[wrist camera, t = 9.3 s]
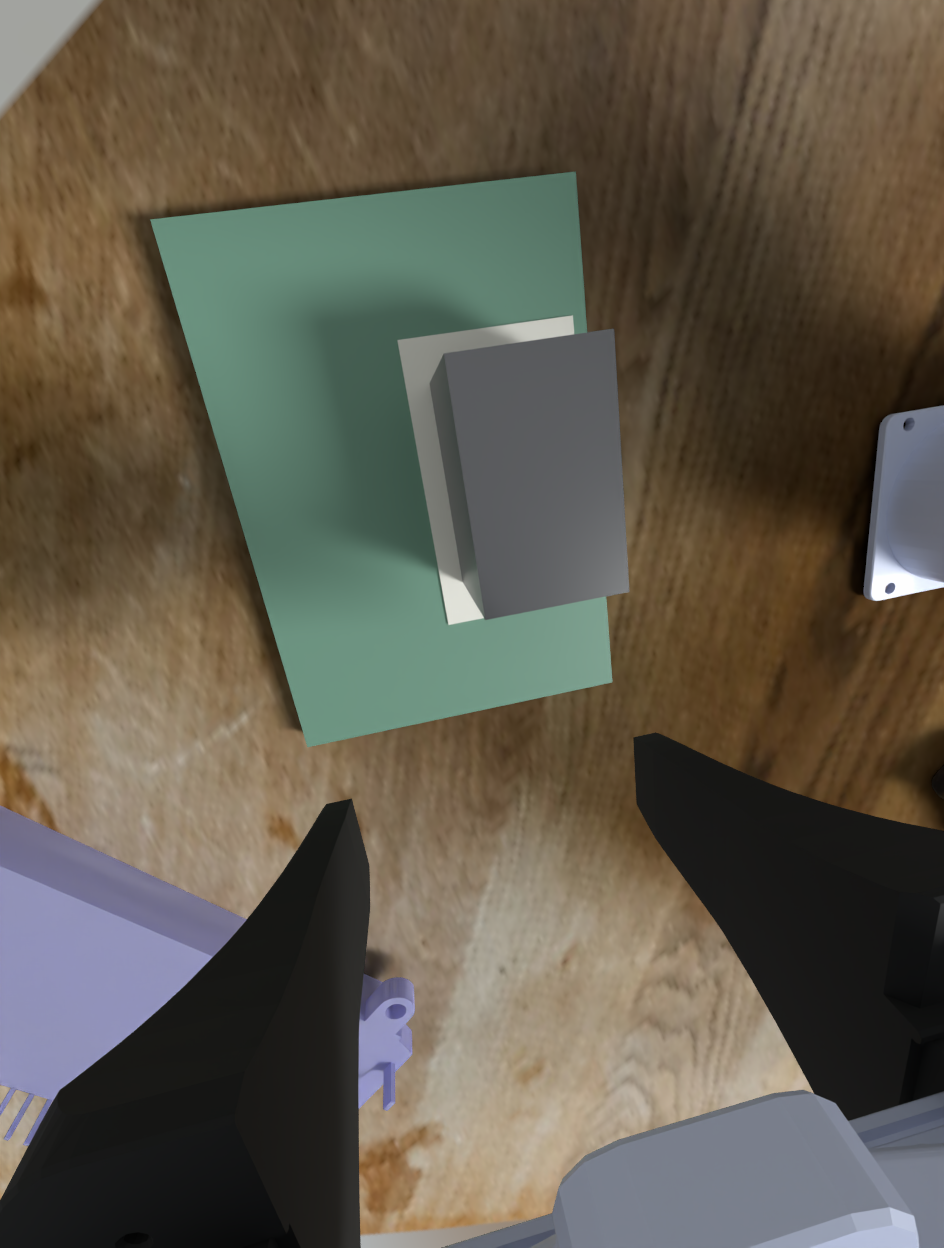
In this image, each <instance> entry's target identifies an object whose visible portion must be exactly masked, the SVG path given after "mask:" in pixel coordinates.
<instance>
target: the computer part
mask: <svg viewBox="0 0 944 1248" xmlns="http://www.w3.org/2000/svg"><path fill="white" fill-rule="evenodd" d="M246 920H247V919H245V918H242V917H240V916H238V915H236V914H234V913H232V912H230V911H227V910H225V909H223V908H221V907H219V906H217V905H214V904H212V903H210V902H208V901H206V900H204V899H201V898H199V897H197V896H195V895H193V894H191V893H188V892H186V891H184V890H182V889H180V888H178V887H175V886H173V885H171V884H169V883H167V882H165V881H162V880H160V879H158V878H156V877H154V876H152V875H149V874H147V873H145V872H143V871H141V870H139V869H136V868H134V867H132V866H130V865H128V864H126V863H123V862H121V861H119V860H117V859H115V858H113V857H110V856H108V855H106V854H104V853H102V852H100V851H97V850H95V849H93V848H91V847H89V846H87V845H84V844H82V843H80V842H78V841H76V840H74V839H71V838H69V837H67V836H65V835H63V834H61V833H58V832H56V831H54V830H52V829H50V828H48V827H45V826H43V825H41V824H39V823H37V822H35V821H32V820H30V819H28V818H26V817H24V816H22V815H19V814H17V813H15V812H13V811H11V810H9V809H6V808H4V807H2V806H0V1085H3V1086H6V1087H10V1088H11V1089H10V1090H9V1092H8V1094H7V1095H6V1097H5V1099H4V1100H3V1102H2V1104H1V1105H0V1115H1V1114H2V1112H3V1110H4V1109H5V1107H6V1105H7V1104H8V1102H9V1100H10V1099H11V1097H12V1095H13V1094H14V1092H15V1090H20V1091H23V1092H26V1093H30V1094H29V1095H28V1097H27V1099H26V1101H25V1102H24V1104H23V1106H22V1108H21V1109H20V1111H19V1113H18V1115H17V1116H16V1118H15V1120H14V1122H13V1123H12V1125H11V1127H10V1129H9V1130H8V1132H7V1134H6V1136H5V1137H4V1140H9V1139H10V1138H11V1136H12V1134H13V1132H14V1131H15V1129H16V1127H17V1125H18V1123H19V1122H20V1120H21V1118H22V1116H23V1115H24V1113H25V1111H26V1109H27V1107H28V1106H29V1104H30V1102H31V1100H32V1099H33V1097H34V1095H36V1096H40V1097H43V1098H46V1099H47V1101H46V1103H45V1105H44V1107H43V1109H42V1111H41V1112H40V1114H39V1116H38V1118H37V1120H36V1122H35V1124H34V1125H33V1127H32V1129H31V1131H30V1133H29V1135H28V1137H27V1138H26V1140H25V1142H24V1144H23V1145H26V1146H28V1145H29V1144H30V1142H31V1140H32V1138H33V1137H34V1135H35V1133H36V1131H37V1129H38V1127H39V1125H40V1123H41V1121H42V1120H43V1118H44V1116H45V1114H46V1112H47V1110H48V1108H49V1106H50V1105H51V1103H52V1101H53V1100H54V1099H55V1097H56V1095H57V1093H58V1092H59V1090H60V1089H62V1088H63V1087H64V1086H66V1085H67V1084H68V1083H70V1082H71V1081H72V1080H74V1079H75V1078H76V1077H77V1076H79V1075H80V1074H81V1073H82V1072H84V1071H85V1070H86V1069H87V1068H89V1067H90V1066H91V1065H93V1064H94V1063H95V1062H96V1061H98V1060H99V1059H100V1058H101V1057H103V1056H104V1055H105V1054H106V1053H108V1052H109V1051H110V1050H112V1049H113V1048H114V1047H115V1046H117V1045H118V1044H119V1043H120V1042H122V1041H123V1040H124V1039H125V1038H126V1037H128V1036H129V1035H130V1034H131V1033H132V1032H134V1031H135V1030H136V1029H137V1028H138V1027H139V1026H141V1025H142V1024H143V1023H144V1022H145V1021H146V1020H147V1019H149V1018H150V1017H151V1016H152V1015H153V1014H154V1013H155V1012H157V1011H158V1010H159V1009H160V1008H161V1007H162V1006H163V1005H164V1004H165V1003H166V1002H168V1001H169V1000H170V999H171V998H172V997H173V996H174V995H175V994H176V993H177V992H178V991H180V990H181V989H182V988H183V987H184V986H185V985H186V984H187V983H188V982H189V981H190V980H191V979H192V978H193V977H194V976H195V975H196V974H197V973H198V972H199V971H200V970H201V969H202V968H203V967H204V966H205V965H206V964H207V963H208V961H209V960H210V959H211V958H212V957H213V956H214V955H215V954H216V953H217V952H218V951H219V950H220V949H221V948H222V947H223V946H224V945H225V944H226V943H227V942H228V941H229V940H230V938H231V937H232V936H233V935H234V934H235V933H236V932H237V930H238V929H239V928H240V927H241V926H242V925H243V923H244V922H245V921H246ZM414 1012H415V1003H414V986H413V984H412V983H411V982H410V981H409V980H408V979H405V978H401V977H396V978H391V979H388V980H386V981H384V982H381V981H379V980H377V979H375V978H372V977H370V976H368V975H366V974H364V976H363V986H362V996H361V1006H360V1022H359V1079H358V1103H359V1108H360V1107H361V1106H362V1105H363V1104H364V1103H365V1102H366V1101H367V1100H368V1099H369V1098H370V1097H371V1096H372V1095H373V1094H374V1093H375V1092H376V1091H377V1090H378V1089H379V1088H380V1087H381V1086H382V1085H383V1084H384V1091H383V1109H384V1110H386V1111H388V1110H389V1109H390V1108H391V1107H392V1106H393V1105H394V1104H395V1072H396V1071H397V1070H398V1069H399V1068H400V1066H401V1065H402V1064H403V1063H404V1062H405V1061H406V1060H407V1059H408V1058H409V1057H410V1056H411V1055H412V1030H411V1029H410V1028H409V1027H408V1026H407V1025H406V1023H407V1022H408V1021H409V1020H410V1019H411V1017H412V1016H413V1014H414Z"/></svg>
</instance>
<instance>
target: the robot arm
mask: <svg viewBox="0 0 944 1248" xmlns="http://www.w3.org/2000/svg"><path fill="white" fill-rule="evenodd" d="M904 422H906V425H905V428H903V425H904ZM886 586H887V588H886ZM942 587H944V405H942V406H936V407H930V408H924V409H919V410H913V411H907V412H901V413H895V414H890V415H888V416H886V417H885V418H884V419H883V421H882V422H881V424H880V428H879V437H878V447H877V457H876V468H875V478H874V488H873V498H872V509H871V519H870V529H869V539H868V550H867V560H866V570H865V580H864V596H865V597H866V598H867V599H870V600H874V601H879V600H884V599H889V598H894V597H899V596H904V595H908V594H913V593H918V592H923V591H928V590H932V589H937V588H942ZM885 588H886V589H885ZM633 738H634V758H635V779H636V800H637V805H638V807H639V809H640V811H641V813H642V815H643V817H644V818H645V820H646V822H647V824H648V826H649V828H650V829H651V831H652V833H653V835H654V836H655V838H656V840H657V841H658V842H659V844H660V845H661V847H662V848H663V850H664V851H665V852H666V854H667V855H668V856H669V858H670V859H671V861H672V862H673V863H674V865H675V866H676V868H677V869H678V870H679V872H680V873H681V874H682V876H683V877H684V878H685V880H686V881H687V882H688V884H689V885H690V887H691V888H692V889H693V891H694V892H695V893H696V895H697V896H698V897H699V899H700V900H701V902H702V903H703V904H704V906H705V907H706V908H707V910H708V911H709V912H710V914H711V915H712V917H713V918H714V920H715V921H716V922H717V924H718V925H719V927H720V928H721V930H722V931H723V933H724V934H725V936H726V938H727V939H728V941H729V943H730V944H731V946H732V948H733V949H734V951H735V953H736V954H737V956H738V958H739V959H740V961H741V963H742V964H743V966H744V968H745V969H746V971H747V973H748V974H749V976H750V978H751V979H752V981H753V983H754V985H755V986H756V988H757V990H758V992H759V993H760V995H761V997H762V999H763V1000H764V1002H765V1004H766V1006H767V1007H768V1009H769V1011H770V1013H771V1014H772V1016H773V1018H774V1020H775V1021H776V1023H777V1025H778V1027H779V1029H780V1031H781V1032H782V1034H783V1036H784V1038H785V1040H786V1042H787V1044H788V1045H789V1047H790V1049H791V1051H792V1053H793V1055H794V1056H795V1058H796V1060H797V1062H798V1064H799V1066H800V1067H801V1069H802V1071H803V1073H804V1075H805V1077H806V1079H807V1080H808V1082H809V1084H810V1086H811V1088H812V1090H813V1092H814V1094H813V1093H811V1092H808V1091H805V1090H798V1091H789V1092H781V1093H773V1094H769V1095H766V1096H763V1097H759V1098H756V1099H753V1100H749V1101H746V1102H743V1103H739V1104H736V1105H733V1106H729V1107H726V1108H723V1109H719V1110H716V1111H713V1112H709V1113H706V1114H703V1115H699V1116H696V1117H693V1118H689V1119H686V1120H683V1121H679V1122H676V1123H673V1124H669V1125H666V1126H663V1127H659V1128H656V1129H653V1130H649V1131H646V1132H643V1133H639V1134H636V1135H633V1136H629V1137H626V1138H623V1139H619V1140H617V1141H615V1142H613V1143H611V1144H608V1145H606V1146H604V1147H602V1148H600V1149H598V1150H596V1151H594V1152H592V1153H590V1154H588V1155H586V1156H584V1157H583V1158H582V1159H581V1160H580V1161H579V1162H578V1163H577V1164H576V1165H575V1166H574V1167H573V1169H572V1170H571V1171H570V1172H569V1173H568V1174H567V1175H566V1176H565V1177H564V1178H563V1179H562V1181H561V1184H560V1186H559V1189H558V1193H557V1196H556V1200H555V1204H554V1208H553V1212H552V1213H551V1214H548V1215H545V1216H542V1217H539V1218H535V1219H532V1220H529V1221H526V1222H523V1223H519V1224H516V1225H513V1226H510V1227H506V1228H504V1229H500V1230H497V1231H494V1232H490V1233H487V1234H484V1235H481V1236H478V1237H474V1238H471V1239H468V1240H465V1241H461V1242H458V1243H455V1244H452V1245H449V1246H445V1247H442V1248H944V831H942V830H937V829H931V828H926V827H921V826H916V825H911V824H906V823H901V822H897V821H892V820H888V819H883V818H879V817H875V816H871V815H867V814H863V813H860V812H856V811H852V810H848V809H844V808H841V807H837V806H834V805H830V804H827V803H824V802H821V801H818V800H815V799H812V798H809V797H806V796H802V795H799V794H796V793H793V792H791V791H788V790H785V789H782V788H780V787H777V786H774V785H772V784H769V783H767V782H764V781H762V780H760V779H757V778H755V777H752V776H750V775H747V774H745V773H743V772H740V771H738V770H736V769H734V768H731V767H729V766H727V765H725V764H723V763H720V762H718V761H716V760H714V759H712V758H710V757H708V756H705V755H703V754H701V753H699V752H697V751H695V750H693V749H691V748H689V747H687V746H685V745H683V744H680V743H678V742H676V741H674V740H672V739H670V738H668V737H665V736H663V735H661V734H658V733H652V734H647V735H643V736H638V737H633ZM369 914H370V874H369V863H368V859H367V855H366V851H365V847H364V844H363V840H362V836H361V832H360V828H359V825H358V821H357V817H356V813H355V809H354V806H353V802H352V799H348V800H343V801H339V802H334V803H329V804H326V805H325V807H324V808H323V810H322V811H321V813H320V814H319V816H318V818H317V819H316V821H315V823H314V824H313V826H312V827H311V829H310V831H309V832H308V834H307V836H306V837H305V839H304V840H303V842H302V844H301V845H300V847H299V848H298V850H297V851H296V853H295V854H294V856H293V857H292V859H291V860H290V862H289V863H288V865H287V866H286V868H285V869H284V871H283V872H282V874H281V875H280V877H279V878H278V879H277V881H276V882H275V883H274V885H273V886H272V887H271V889H270V890H269V892H268V893H267V894H266V896H265V897H264V898H263V900H262V901H261V902H260V904H259V905H258V906H257V908H256V909H255V910H254V911H253V913H252V914H251V915H250V916H249V918H248V919H247V920H246V921H245V922H244V923H243V925H242V926H241V927H240V928H239V929H238V930H237V932H236V933H235V934H234V935H233V936H232V937H231V938H230V940H229V941H228V942H227V943H226V944H225V945H224V946H223V947H222V948H221V949H220V950H219V951H218V952H217V953H216V954H215V955H214V956H213V957H212V958H211V959H210V960H209V961H208V963H207V964H206V965H205V966H204V967H203V968H202V969H201V970H200V971H199V972H198V973H197V974H196V975H195V976H194V977H193V978H192V979H191V980H190V981H189V982H188V983H187V984H186V985H185V986H184V987H183V988H182V989H181V990H180V991H178V992H177V993H176V994H175V995H174V996H173V997H172V998H171V999H170V1000H169V1001H168V1002H166V1003H165V1004H164V1005H163V1006H162V1007H161V1008H160V1009H159V1010H158V1011H157V1012H155V1013H154V1014H153V1015H152V1016H151V1017H150V1018H149V1019H147V1020H146V1021H145V1022H144V1023H143V1024H142V1025H141V1026H139V1027H138V1028H137V1029H136V1030H135V1031H134V1032H132V1033H131V1034H130V1035H129V1036H128V1037H126V1038H125V1039H124V1040H123V1041H122V1042H120V1043H119V1044H118V1045H117V1046H115V1047H114V1048H113V1049H112V1050H110V1051H109V1052H108V1053H106V1054H105V1055H104V1056H103V1057H101V1058H100V1059H99V1060H98V1061H96V1062H95V1063H94V1064H93V1065H91V1066H90V1067H89V1068H87V1069H86V1070H85V1071H84V1072H82V1073H81V1074H80V1075H79V1076H77V1077H76V1078H75V1079H74V1080H72V1081H71V1082H70V1083H68V1084H67V1085H66V1086H64V1087H63V1088H62V1089H60V1090H59V1092H58V1093H57V1095H56V1097H55V1099H54V1100H53V1102H52V1104H51V1106H50V1107H49V1109H48V1111H47V1113H46V1114H45V1116H44V1118H43V1120H42V1121H41V1123H40V1125H39V1127H38V1129H37V1131H36V1133H35V1135H34V1137H33V1138H32V1140H31V1142H30V1144H29V1146H28V1148H27V1150H26V1152H25V1154H24V1156H23V1158H22V1160H21V1162H20V1163H19V1165H18V1167H17V1169H16V1171H15V1173H14V1175H13V1177H12V1179H11V1181H10V1183H9V1185H8V1187H7V1188H6V1190H5V1192H4V1194H3V1196H2V1198H1V1200H0V1248H361V1247H360V1205H359V1103H358V1079H359V1022H360V1006H361V996H362V986H363V976H364V966H365V956H366V946H367V935H368V925H369Z"/></svg>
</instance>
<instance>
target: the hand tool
mask: <svg viewBox="0 0 944 1248" xmlns="http://www.w3.org/2000/svg"><path fill="white" fill-rule="evenodd" d="M932 788H933V789H934V791H935V792H936V793H937V795H938V796H939V797H941V798H943V799H944V765H943V766H942V767H941V768H940V770H939V771H938V772H937V773H936V775H935V776H934V777H933V779H932Z"/></svg>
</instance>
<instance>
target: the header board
mask: <svg viewBox="0 0 944 1248" xmlns="http://www.w3.org/2000/svg"><path fill="white" fill-rule="evenodd" d="M150 221H151V224H152V227H153V231H154V234H155V237H156V241H157V244H158V248H159V251H160V254H161V258H162V261H163V264H164V268H165V271H166V274H167V278H168V281H169V284H170V288H171V291H172V294H173V298H174V301H175V304H176V308H177V311H178V315H179V318H180V321H181V325H182V328H183V331H184V335H185V338H186V341H187V345H188V348H189V351H190V355H191V358H192V361H193V365H194V368H195V372H196V375H197V378H198V382H199V385H200V388H201V392H202V395H203V398H204V402H205V405H206V408H207V412H208V415H209V418H210V422H211V425H212V428H213V432H214V435H215V439H216V442H217V445H218V449H219V452H220V455H221V459H222V462H223V465H224V469H225V472H226V475H227V479H228V482H229V485H230V489H231V492H232V496H233V499H234V502H235V506H236V509H237V512H238V516H239V519H240V522H241V526H242V529H243V532H244V536H245V539H246V542H247V546H248V549H249V552H250V556H251V559H252V563H253V566H254V569H255V573H256V576H257V579H258V583H259V586H260V589H261V593H262V596H263V599H264V603H265V606H266V609H267V613H268V616H269V620H270V623H271V626H272V630H273V633H274V636H275V640H276V643H277V646H278V650H279V653H280V656H281V660H282V663H283V666H284V670H285V673H286V676H287V680H288V683H289V687H290V690H291V693H292V697H293V700H294V703H295V707H296V710H297V713H298V717H299V720H300V723H301V727H302V730H303V733H304V737H305V740H306V744H307V747H311V746H315V745H320V744H325V743H329V742H334V741H339V740H343V739H348V738H353V737H357V736H362V735H367V734H372V733H376V732H381V731H386V730H390V729H395V728H400V727H404V726H409V725H414V724H419V723H423V722H428V721H433V720H437V719H442V718H447V717H451V716H456V715H461V714H466V713H470V712H475V711H480V710H484V709H489V708H494V707H498V706H503V705H508V704H513V703H517V702H522V701H527V700H531V699H536V698H541V697H545V696H550V695H555V694H559V693H564V692H569V691H574V690H578V689H583V688H588V687H592V686H597V685H602V684H606V683H611V682H612V671H611V657H610V643H609V629H608V615H607V601H606V597H600V598H595V599H590V600H585V601H580V602H575V603H570V604H565V605H560V606H555V607H550V608H545V609H540V610H535V611H530V612H525V613H520V614H514V615H509V616H504V617H499V618H494V619H489V620H485V619H484V617H483V615H482V614H481V612H480V610H479V609H478V607H477V605H476V604H475V602H474V600H473V599H472V597H471V595H470V594H469V592H468V590H467V589H466V587H465V585H464V584H463V582H462V576H461V570H460V564H459V558H458V552H457V546H456V540H455V534H454V528H453V522H452V516H451V510H450V504H449V498H448V492H447V486H446V480H445V474H444V468H443V462H442V456H441V450H440V444H439V438H438V432H437V426H436V420H435V414H434V408H433V402H432V396H431V390H430V384H429V383H430V381H431V379H432V377H433V375H434V373H435V371H436V369H437V367H438V364H439V362H440V360H441V358H442V356H443V354H444V353H450V352H457V351H464V350H471V349H477V348H484V347H491V346H498V345H505V344H512V343H518V342H525V341H532V340H539V339H546V338H553V337H559V336H566V335H573V334H580V333H587V322H586V309H585V295H584V281H583V267H582V253H581V239H580V225H579V211H578V197H577V183H576V172H567V173H558V174H549V175H540V176H532V177H523V178H514V179H505V180H496V181H487V182H478V183H470V184H461V185H452V186H443V187H434V188H425V189H416V190H408V191H399V192H390V193H381V194H372V195H363V196H354V197H346V198H337V199H328V200H319V201H310V202H301V203H292V204H284V205H275V206H266V207H257V208H248V209H239V210H230V211H222V212H213V213H204V214H195V215H186V216H177V217H168V218H160V219H151V220H150Z"/></svg>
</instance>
